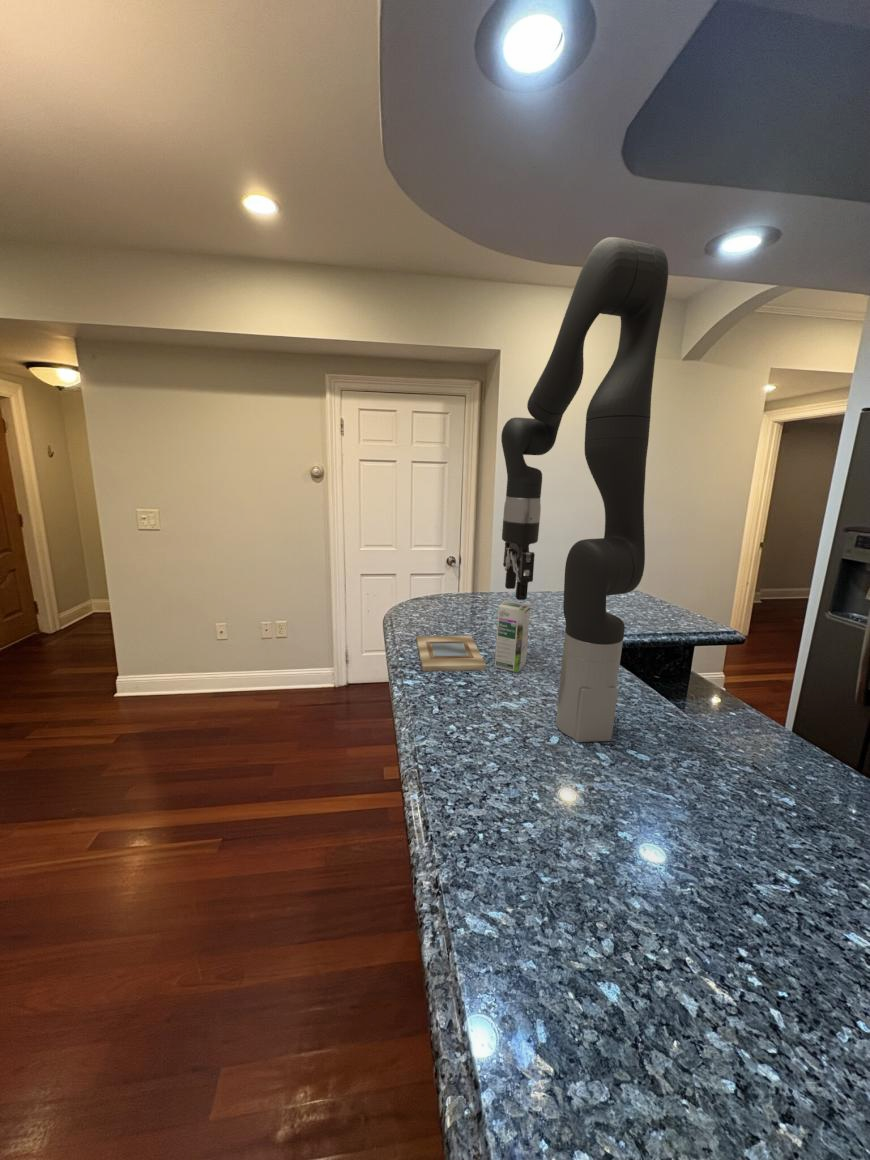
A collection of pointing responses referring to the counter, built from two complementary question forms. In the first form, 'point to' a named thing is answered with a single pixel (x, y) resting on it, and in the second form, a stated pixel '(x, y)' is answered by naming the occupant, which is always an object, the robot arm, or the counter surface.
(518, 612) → the syrup box
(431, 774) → the counter surface
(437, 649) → the wooden picture frame
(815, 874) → the counter surface
